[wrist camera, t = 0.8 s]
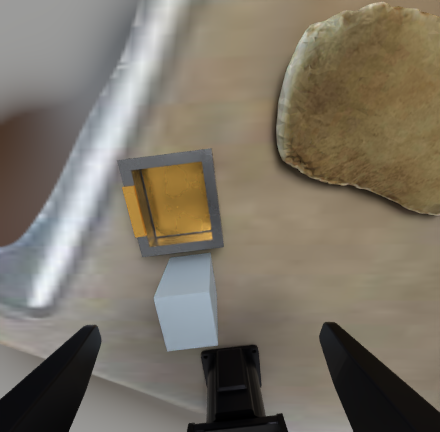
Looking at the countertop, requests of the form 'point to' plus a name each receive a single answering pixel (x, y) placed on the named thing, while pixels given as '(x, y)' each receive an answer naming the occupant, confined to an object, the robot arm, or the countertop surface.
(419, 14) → the stone tool
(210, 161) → the rack
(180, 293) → the pale blue upright block
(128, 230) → the countertop surface
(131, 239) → the countertop surface
